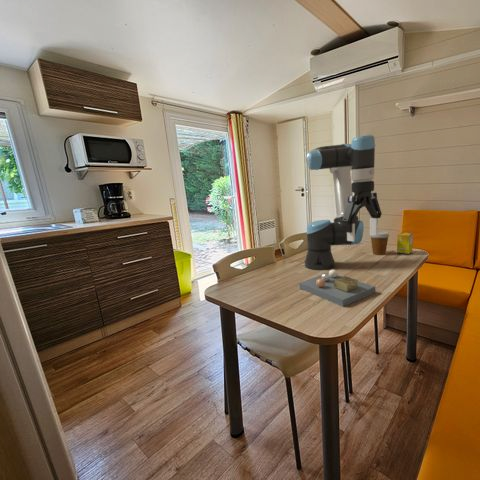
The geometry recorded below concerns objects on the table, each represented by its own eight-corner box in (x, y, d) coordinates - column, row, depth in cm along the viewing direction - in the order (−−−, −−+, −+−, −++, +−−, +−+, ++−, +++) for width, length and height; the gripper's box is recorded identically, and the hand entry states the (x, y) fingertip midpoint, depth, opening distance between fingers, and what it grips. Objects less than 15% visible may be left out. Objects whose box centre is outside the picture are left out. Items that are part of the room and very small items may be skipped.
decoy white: (327, 277, 113) (327, 269, 112) (332, 275, 114) (332, 267, 114) (333, 279, 110) (333, 271, 109) (339, 277, 111) (339, 269, 111)
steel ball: (319, 281, 109) (319, 273, 109) (325, 279, 111) (325, 271, 110) (325, 283, 106) (325, 275, 106) (331, 281, 108) (331, 273, 107)
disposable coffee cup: (381, 256, 141) (381, 235, 139) (366, 253, 150) (366, 233, 147) (392, 253, 146) (393, 232, 143) (376, 250, 154) (377, 230, 152)
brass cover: (334, 287, 101) (333, 279, 101) (344, 283, 104) (344, 276, 103) (347, 291, 96) (347, 284, 95) (357, 287, 99) (357, 280, 98)
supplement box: (400, 251, 149) (400, 232, 146) (412, 252, 144) (413, 233, 142) (396, 253, 145) (397, 234, 143) (409, 255, 140) (409, 235, 138)
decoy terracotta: (314, 286, 104) (314, 278, 103) (320, 284, 106) (320, 276, 105) (320, 289, 101) (320, 281, 100) (327, 287, 103) (326, 278, 102)
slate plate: (299, 288, 110) (299, 282, 110) (329, 277, 119) (329, 272, 118) (342, 306, 91) (342, 299, 91) (375, 292, 100) (375, 286, 99)
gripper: (349, 183, 87) (349, 245, 91) (392, 178, 99) (391, 233, 103) (331, 184, 93) (332, 242, 97) (373, 179, 105) (373, 231, 109)
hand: (362, 237), depth 100 cm, fingers open, 13 cm apart
